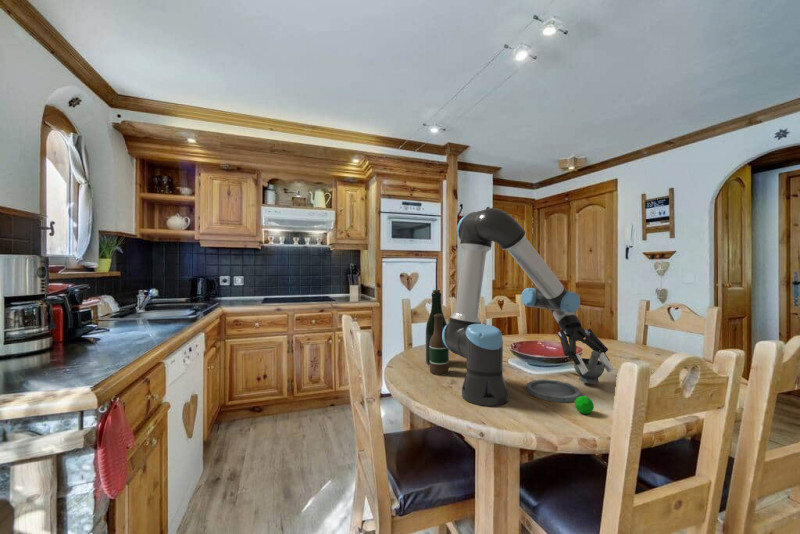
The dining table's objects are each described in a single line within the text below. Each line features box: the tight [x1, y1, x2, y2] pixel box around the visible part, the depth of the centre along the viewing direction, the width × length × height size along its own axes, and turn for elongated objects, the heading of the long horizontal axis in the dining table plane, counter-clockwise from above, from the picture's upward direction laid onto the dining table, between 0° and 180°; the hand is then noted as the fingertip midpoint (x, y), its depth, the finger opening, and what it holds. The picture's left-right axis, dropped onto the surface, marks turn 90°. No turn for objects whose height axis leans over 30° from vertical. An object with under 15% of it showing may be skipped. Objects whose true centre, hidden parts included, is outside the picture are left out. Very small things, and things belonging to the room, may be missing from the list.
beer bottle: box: [429, 314, 450, 376], centre depth 137 cm, size 8×8×24 cm
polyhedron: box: [574, 395, 595, 415], centre depth 99 cm, size 5×5×5 cm
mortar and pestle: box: [573, 350, 605, 384], centre depth 121 cm, size 11×9×12 cm
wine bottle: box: [424, 289, 448, 366], centre depth 150 cm, size 10×10×33 cm
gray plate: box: [526, 379, 582, 403], centre depth 115 cm, size 16×16×2 cm
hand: (598, 371), depth 117 cm, fingers closed on mortar and pestle, 10 cm apart
